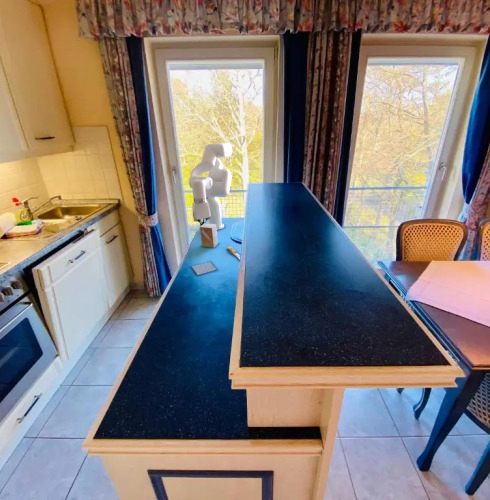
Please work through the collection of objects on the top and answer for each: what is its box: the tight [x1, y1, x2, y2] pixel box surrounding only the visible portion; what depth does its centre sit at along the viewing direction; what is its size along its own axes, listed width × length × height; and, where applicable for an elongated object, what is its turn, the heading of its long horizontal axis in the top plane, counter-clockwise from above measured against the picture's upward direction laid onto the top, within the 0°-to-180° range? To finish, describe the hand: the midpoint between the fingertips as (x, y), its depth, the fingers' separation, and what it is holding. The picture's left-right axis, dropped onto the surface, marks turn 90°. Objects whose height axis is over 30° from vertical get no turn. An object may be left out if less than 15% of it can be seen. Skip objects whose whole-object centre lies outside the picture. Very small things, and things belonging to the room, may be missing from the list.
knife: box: [227, 245, 241, 261], centre depth 159 cm, size 17×2×2 cm, turn 28°
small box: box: [199, 222, 219, 249], centre depth 169 cm, size 8×6×13 cm
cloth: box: [191, 261, 217, 276], centre depth 146 cm, size 10×10×1 cm
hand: (203, 228), depth 176 cm, fingers closed
